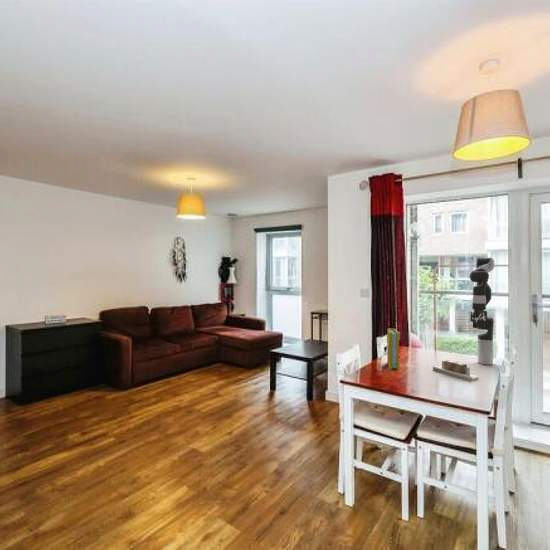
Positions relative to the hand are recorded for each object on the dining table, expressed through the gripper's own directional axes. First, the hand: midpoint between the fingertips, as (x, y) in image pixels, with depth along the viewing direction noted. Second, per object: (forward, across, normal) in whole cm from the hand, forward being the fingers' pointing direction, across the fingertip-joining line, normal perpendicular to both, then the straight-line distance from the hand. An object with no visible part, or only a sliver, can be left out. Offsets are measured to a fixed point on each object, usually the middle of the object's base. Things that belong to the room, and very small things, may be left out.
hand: (478, 327), depth 224 cm
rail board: (+30, -14, +7) cm, 34 cm away
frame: (+29, -13, +7) cm, 32 cm away
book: (+30, -34, +40) cm, 61 cm away
